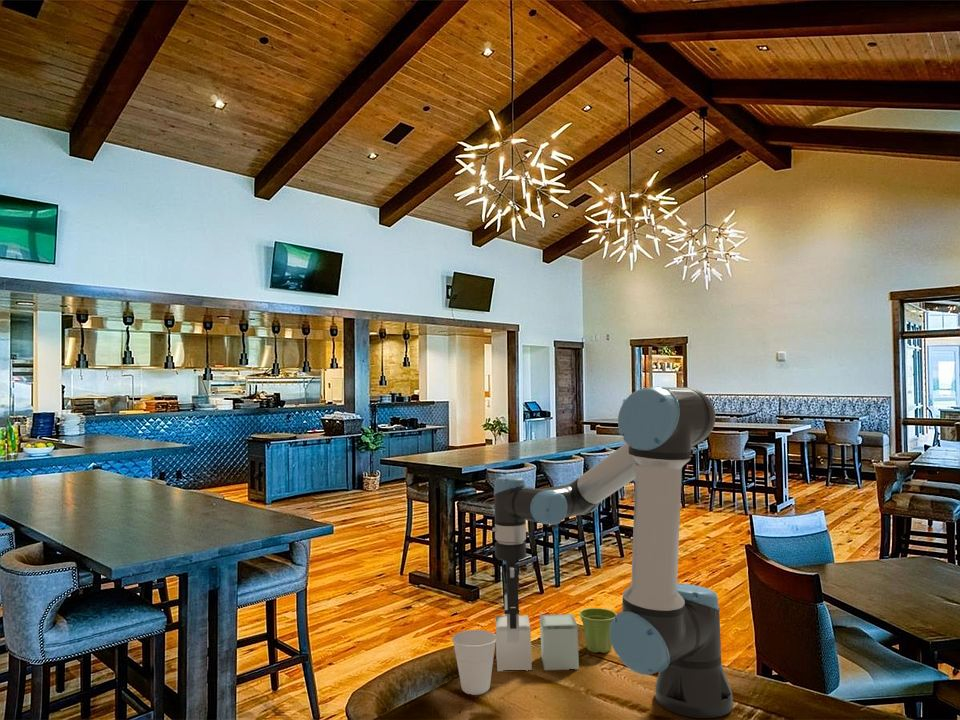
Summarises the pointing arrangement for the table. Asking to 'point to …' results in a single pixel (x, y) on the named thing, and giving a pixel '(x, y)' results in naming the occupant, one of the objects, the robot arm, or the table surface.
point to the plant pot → (597, 628)
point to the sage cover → (559, 642)
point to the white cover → (513, 645)
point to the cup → (475, 659)
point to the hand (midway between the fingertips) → (511, 630)
